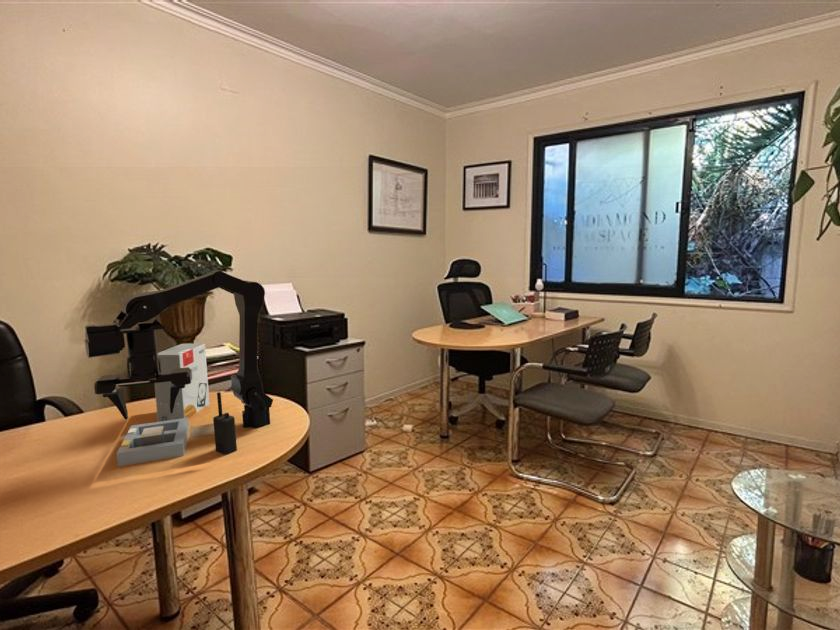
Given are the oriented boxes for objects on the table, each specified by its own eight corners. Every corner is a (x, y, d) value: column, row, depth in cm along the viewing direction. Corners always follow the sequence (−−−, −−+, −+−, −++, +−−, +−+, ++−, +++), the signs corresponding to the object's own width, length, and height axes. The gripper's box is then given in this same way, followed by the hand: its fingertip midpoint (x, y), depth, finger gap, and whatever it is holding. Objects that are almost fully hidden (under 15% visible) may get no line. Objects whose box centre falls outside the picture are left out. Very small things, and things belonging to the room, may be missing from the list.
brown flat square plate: (220, 426, 126) (220, 422, 126) (219, 437, 118) (219, 433, 118) (191, 430, 123) (191, 426, 123) (189, 442, 116) (189, 438, 116)
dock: (189, 431, 122) (188, 416, 121) (184, 459, 107) (182, 441, 106) (132, 440, 117) (131, 424, 116) (118, 470, 102) (116, 451, 101)
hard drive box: (184, 425, 126) (177, 355, 123) (157, 425, 126) (149, 355, 123) (210, 405, 142) (205, 342, 139) (186, 405, 142) (180, 342, 139)
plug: (165, 447, 111) (163, 425, 110) (163, 453, 107) (161, 432, 106) (146, 450, 109) (144, 428, 109) (143, 457, 106) (141, 435, 105)
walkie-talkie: (238, 453, 109) (233, 393, 107) (225, 459, 106) (220, 397, 104) (226, 449, 112) (221, 389, 109) (213, 454, 109) (208, 393, 106)
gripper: (191, 339, 115) (196, 399, 118) (102, 346, 108) (110, 410, 110) (187, 349, 105) (193, 414, 107) (89, 357, 98) (98, 427, 100)
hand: (149, 415), depth 107 cm, fingers open, 9 cm apart
